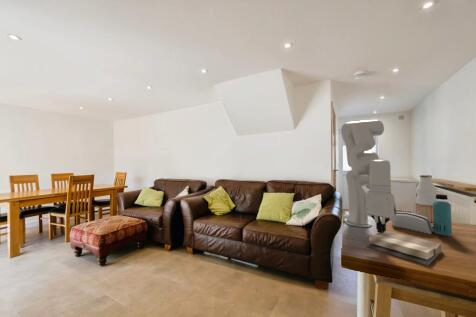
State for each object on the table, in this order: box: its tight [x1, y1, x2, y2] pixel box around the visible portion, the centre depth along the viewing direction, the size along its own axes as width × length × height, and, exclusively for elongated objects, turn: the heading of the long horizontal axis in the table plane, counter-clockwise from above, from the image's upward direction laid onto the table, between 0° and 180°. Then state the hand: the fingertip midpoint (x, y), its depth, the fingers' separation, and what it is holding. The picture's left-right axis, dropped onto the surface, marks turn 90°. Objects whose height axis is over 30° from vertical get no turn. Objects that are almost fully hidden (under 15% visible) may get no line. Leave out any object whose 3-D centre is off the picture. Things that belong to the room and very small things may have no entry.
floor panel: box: [365, 230, 442, 267], centre depth 85 cm, size 20×18×3 cm
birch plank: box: [368, 233, 434, 259], centre depth 83 cm, size 19×8×2 cm, turn 34°
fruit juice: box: [415, 174, 439, 227], centre depth 114 cm, size 9×9×28 cm
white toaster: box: [391, 211, 434, 235], centre depth 108 cm, size 17×5×10 cm, turn 32°
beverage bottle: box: [432, 193, 453, 236], centre depth 98 cm, size 6×7×20 cm
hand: (381, 231), depth 86 cm, fingers closed
